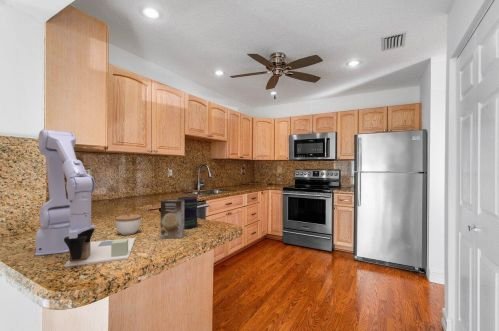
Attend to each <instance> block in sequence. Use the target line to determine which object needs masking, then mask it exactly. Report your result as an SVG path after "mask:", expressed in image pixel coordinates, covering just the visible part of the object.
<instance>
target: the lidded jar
mask: <svg viewBox="0 0 499 331" xmlns="http://www.w3.org/2000/svg"><path fill="white" fill-rule="evenodd" d="M114 220H115V228H116V231H118V233H120V235H121V236H129V235H133V234H136V233H137V231H138V230H140V229H139V228H140V227H141V223H142V215H141V214H132V213H130V212H127V214H124V215H123V214H122V215H118V216H116V217H115V218H114Z"/></svg>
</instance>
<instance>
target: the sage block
mask: <svg viewBox="0 0 499 331" xmlns="http://www.w3.org/2000/svg"><path fill="white" fill-rule="evenodd" d="M128 238H129V237H128ZM128 238H127V237H126V238H118V239H112V240H113V242H112V243H111V257H117V256H125V255H127V253H128Z"/></svg>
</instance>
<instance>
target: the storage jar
mask: <svg viewBox="0 0 499 331" xmlns="http://www.w3.org/2000/svg"><path fill="white" fill-rule="evenodd" d="M177 199H180V200H184V230H193V228H194V229H196V228H198V212H197V210H198V197H196V196H181V197H178V198H177Z"/></svg>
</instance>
